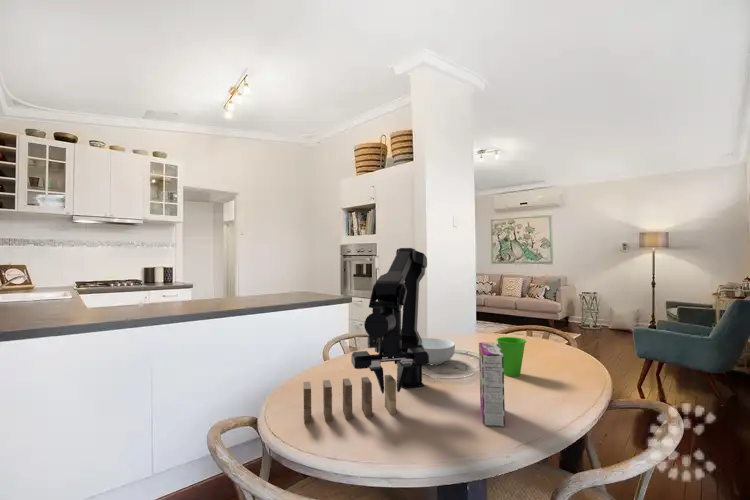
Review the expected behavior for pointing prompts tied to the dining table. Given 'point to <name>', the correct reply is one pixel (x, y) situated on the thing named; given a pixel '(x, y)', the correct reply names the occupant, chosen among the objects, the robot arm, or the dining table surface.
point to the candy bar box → (492, 384)
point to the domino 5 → (390, 394)
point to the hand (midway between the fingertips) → (390, 392)
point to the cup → (512, 354)
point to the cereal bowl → (438, 349)
